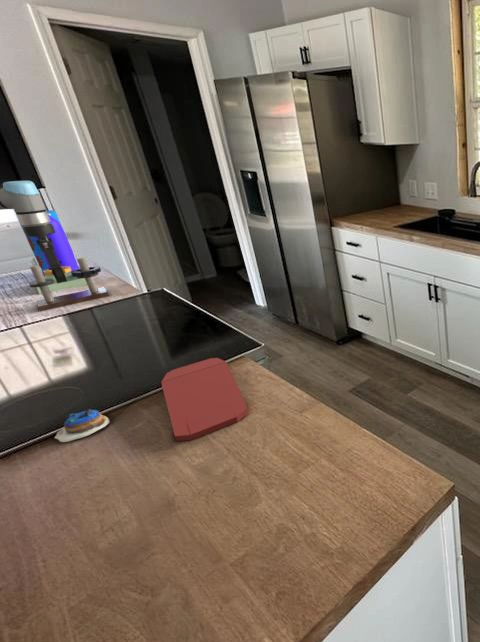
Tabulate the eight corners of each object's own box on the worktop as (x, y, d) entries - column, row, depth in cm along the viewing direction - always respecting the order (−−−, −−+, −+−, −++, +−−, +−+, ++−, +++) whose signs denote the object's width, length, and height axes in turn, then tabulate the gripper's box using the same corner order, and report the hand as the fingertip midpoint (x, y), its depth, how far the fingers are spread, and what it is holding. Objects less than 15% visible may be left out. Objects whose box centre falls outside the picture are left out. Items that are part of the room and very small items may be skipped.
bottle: (53, 276, 169) (21, 203, 158) (81, 271, 175) (52, 200, 164) (52, 281, 164) (18, 205, 153) (81, 275, 169) (51, 202, 158)
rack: (40, 312, 135) (20, 270, 130) (39, 306, 140) (20, 265, 135) (109, 296, 147) (94, 258, 142) (106, 291, 152) (91, 254, 147)
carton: (254, 428, 87) (226, 367, 102) (249, 411, 85) (221, 351, 100) (183, 458, 79) (164, 386, 95) (175, 440, 77) (158, 370, 92)
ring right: (66, 277, 141) (64, 273, 140) (84, 270, 147) (82, 266, 147) (89, 276, 141) (87, 272, 141) (106, 269, 148) (104, 265, 148)
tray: (37, 285, 159) (34, 278, 158) (84, 276, 168) (82, 270, 167) (39, 294, 150) (36, 287, 149) (89, 284, 159) (86, 278, 158)
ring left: (39, 276, 154) (37, 272, 153) (56, 269, 160) (55, 266, 160) (60, 275, 154) (58, 271, 154) (76, 269, 161) (75, 265, 161)
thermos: (36, 274, 171) (9, 215, 162) (67, 266, 181) (43, 210, 172) (55, 276, 169) (28, 216, 160) (85, 268, 178) (62, 211, 169)
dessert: (121, 413, 85) (94, 404, 80) (105, 446, 82) (76, 439, 77) (85, 415, 86) (56, 406, 81) (67, 448, 82) (36, 441, 77)
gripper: (53, 226, 147) (79, 285, 155) (49, 219, 159) (73, 274, 168) (22, 230, 142) (50, 291, 150) (21, 222, 154) (47, 279, 162)
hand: (62, 282), depth 159 cm, fingers closed on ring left, 7 cm apart
